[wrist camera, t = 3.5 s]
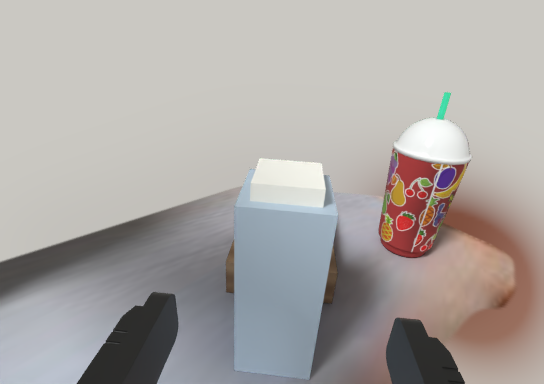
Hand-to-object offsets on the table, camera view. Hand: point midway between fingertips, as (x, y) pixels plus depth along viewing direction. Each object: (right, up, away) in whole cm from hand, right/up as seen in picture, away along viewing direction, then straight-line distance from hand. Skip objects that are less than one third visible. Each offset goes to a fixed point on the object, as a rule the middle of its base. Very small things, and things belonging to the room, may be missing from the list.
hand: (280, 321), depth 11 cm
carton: (0, -8, +16) cm, 18 cm away
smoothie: (+17, -3, +30) cm, 35 cm away
